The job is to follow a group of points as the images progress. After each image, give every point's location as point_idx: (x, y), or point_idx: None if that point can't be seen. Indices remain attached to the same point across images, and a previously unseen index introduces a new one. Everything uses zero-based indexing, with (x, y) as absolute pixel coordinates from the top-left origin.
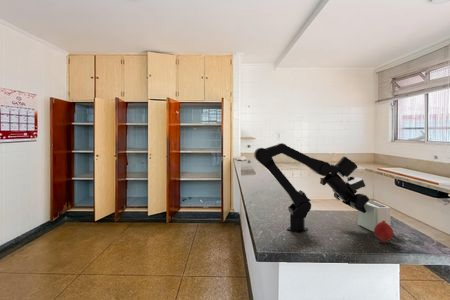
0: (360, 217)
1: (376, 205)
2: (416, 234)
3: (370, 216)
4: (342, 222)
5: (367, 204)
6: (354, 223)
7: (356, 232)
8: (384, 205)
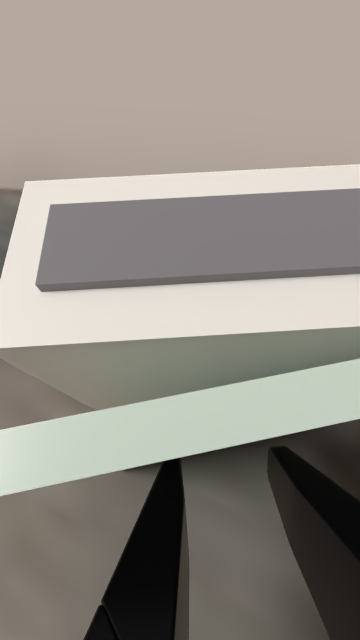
0: (144, 465)
1: (347, 272)
2: None
3: (334, 424)
4: (20, 615)
5: (344, 414)
6: (73, 484)
7: None
8: (300, 176)
